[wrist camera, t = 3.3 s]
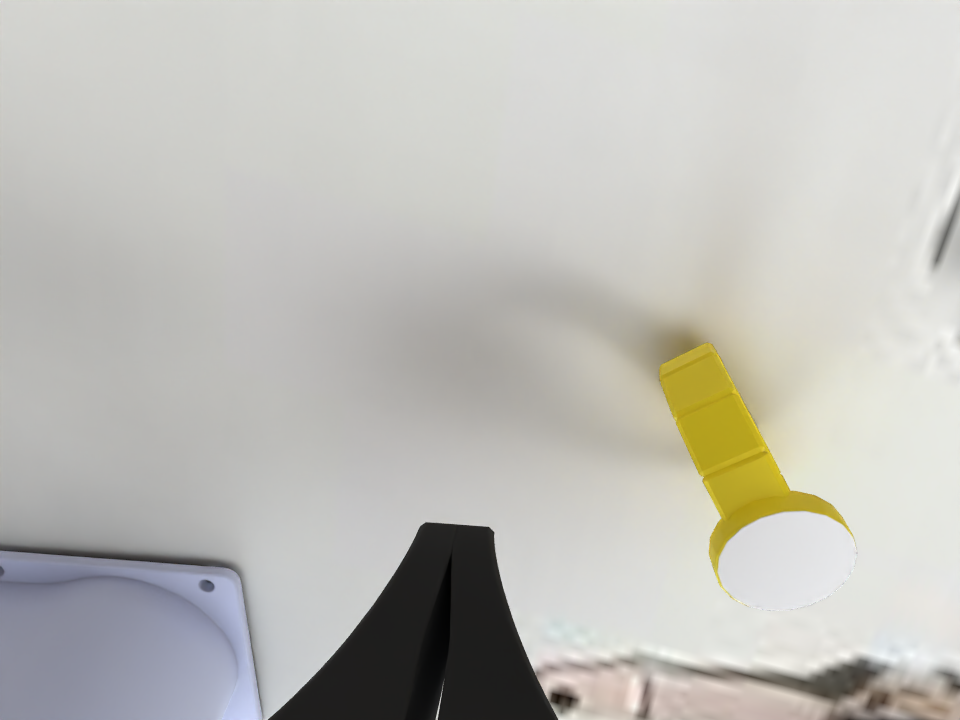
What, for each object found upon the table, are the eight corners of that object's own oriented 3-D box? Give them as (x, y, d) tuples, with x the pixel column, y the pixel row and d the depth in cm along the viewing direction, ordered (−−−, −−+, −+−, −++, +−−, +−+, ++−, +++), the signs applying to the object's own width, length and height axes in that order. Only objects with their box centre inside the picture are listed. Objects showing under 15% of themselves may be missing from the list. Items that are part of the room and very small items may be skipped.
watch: (619, 344, 19) (652, 480, 14) (718, 294, 18) (794, 419, 13) (713, 503, 21) (774, 674, 16) (806, 465, 20) (902, 632, 15)
